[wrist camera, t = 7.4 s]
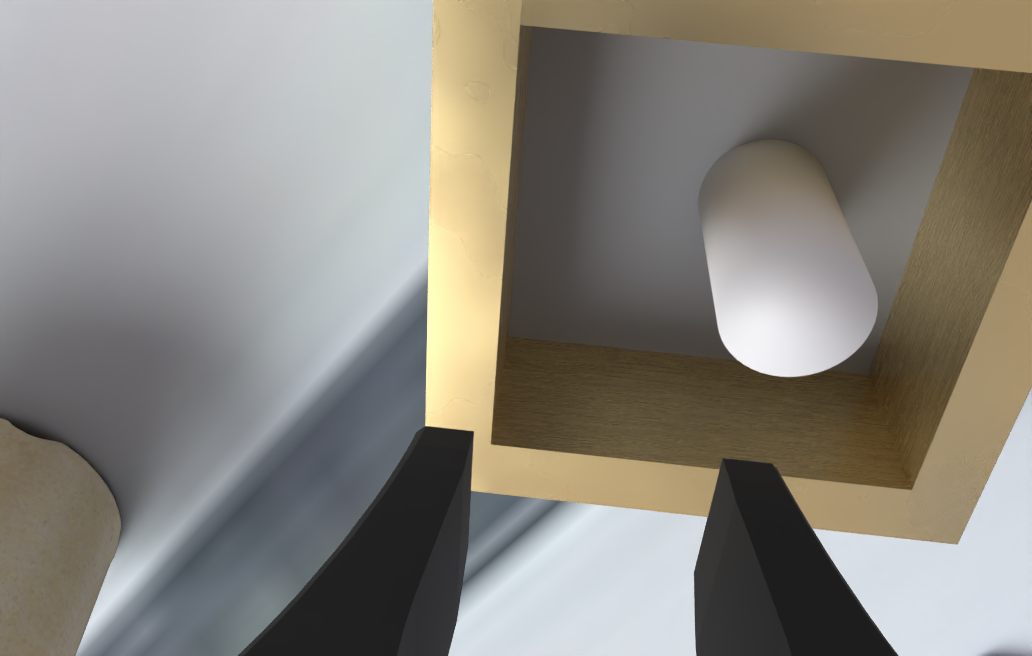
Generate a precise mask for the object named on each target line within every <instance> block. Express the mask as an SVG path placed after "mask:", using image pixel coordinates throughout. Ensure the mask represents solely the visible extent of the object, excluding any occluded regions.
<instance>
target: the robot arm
mask: <svg viewBox="0 0 1032 656" xmlns="http://www.w3.org/2000/svg"><path fill="white" fill-rule="evenodd" d="M473 441H474V431H468V430H459V429H449V428H440V427H431V426H425V427H424V428H422V429H421V430H419V431H418V432H416V434H415V436H414V438H413V440H412V442H411V444H410V446H409V447H408V449H407V451H406V452H405V454H404V456H403V457H402V459H401V461H400V462H399V464H398V465H397V467H396V469H395V470H394V472H393V473H392V475H391V476H390V478H389V479H388V481H387V482H386V484H385V485H384V486H383V488H382V489H381V491H380V492H379V494H378V495H377V497H376V498H375V499H374V501H373V502H372V504H371V505H370V506H369V507H368V509H367V510H366V511H365V513H364V514H363V515H362V517H361V518H360V519H359V521H358V522H357V523H356V525H355V526H354V527H353V529H352V530H351V531H350V533H349V534H348V535H347V537H346V538H345V539H344V540H343V542H342V543H341V544H340V545H339V547H338V548H337V549H336V550H335V552H334V553H333V554H332V555H331V556H330V557H329V559H328V560H327V561H326V562H325V563H324V564H323V566H322V567H321V568H320V569H319V570H318V571H317V573H316V574H315V575H314V576H313V577H312V578H311V580H310V581H309V582H308V583H307V584H306V585H305V587H304V588H303V589H302V590H301V591H300V592H299V593H298V595H297V596H296V597H295V598H294V599H293V600H292V601H291V602H290V603H289V604H288V605H287V607H286V608H285V609H284V610H283V611H282V612H281V613H280V614H279V615H278V616H277V617H276V618H275V619H274V620H273V621H272V622H271V623H270V624H269V625H268V626H267V627H266V629H265V630H264V631H263V632H262V633H261V634H259V635H258V636H257V637H256V638H255V639H254V640H253V641H252V642H251V643H250V644H249V645H248V646H247V647H246V648H245V649H244V650H243V651H242V652H241V653H240V654H239V655H238V656H448V653H449V649H450V645H451V642H452V638H453V634H454V630H455V626H456V622H457V616H458V609H459V603H460V596H461V590H462V583H463V576H464V570H465V563H466V556H467V549H468V535H469V516H470V498H471V479H472V460H473ZM694 597H695V638H696V654H697V656H898V655H897V653H896V652H895V651H894V649H893V648H892V647H891V645H890V644H889V643H888V641H887V640H886V639H885V637H884V636H883V634H882V633H881V632H880V630H879V629H878V627H877V626H876V625H875V623H874V622H873V620H872V619H871V618H870V616H869V615H868V613H867V612H866V611H865V609H864V608H863V606H862V605H861V603H860V602H859V600H858V599H857V597H856V596H855V594H854V593H853V591H852V590H851V588H850V587H849V585H848V584H847V582H846V581H845V579H844V578H843V576H842V575H841V574H840V572H839V571H838V569H837V567H836V566H835V564H834V563H833V561H832V560H831V558H830V557H829V555H828V553H827V552H826V550H825V549H824V547H823V545H822V544H821V542H820V541H819V539H818V537H817V536H816V534H815V532H814V531H813V529H812V528H811V526H810V524H809V523H808V521H807V519H806V518H805V516H804V514H803V513H802V511H801V509H800V507H799V506H798V504H797V502H796V501H795V499H794V497H793V495H792V494H791V492H790V490H789V488H788V487H787V485H786V483H785V481H784V480H783V478H782V476H781V474H780V473H779V471H778V470H777V469H776V467H775V466H774V465H773V464H772V463H763V462H754V461H745V460H736V459H726V458H722V462H721V466H720V470H719V474H718V478H717V482H716V486H715V490H714V494H713V498H712V502H711V506H710V510H709V514H708V518H707V522H706V526H705V530H704V535H703V539H702V543H701V547H700V551H699V555H698V559H697V563H696V567H695V571H694Z"/></svg>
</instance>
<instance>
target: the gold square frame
mask: <svg viewBox="0 0 1032 656" xmlns="http://www.w3.org/2000/svg"><path fill="white" fill-rule="evenodd" d="M532 26H537V27H547V28H558V29H569V30H579V31H590V32H601V33H611V34H622V35H633V36H643V37H654V38H665V39H675V40H686V41H696V42H707V43H718V44H728V45H739V46H750V47H760V48H771V49H782V50H792V51H803V52H813V53H824V54H835V55H845V56H856V57H867V58H877V59H888V60H899V61H909V62H920V63H931V64H941V65H952V66H962V67H973V68H974V71H973V74H972V77H971V79H970V82H969V85H968V88H967V91H966V94H965V97H964V100H963V103H962V105H961V108H960V111H959V114H958V117H957V120H956V123H955V126H954V129H953V131H952V134H951V137H950V140H949V143H948V146H947V149H946V152H945V155H944V157H943V160H942V163H941V166H940V169H939V172H938V175H937V178H936V181H935V183H934V186H933V189H932V192H931V195H930V198H929V201H928V204H927V207H926V209H925V212H924V215H923V218H922V221H921V224H920V227H919V230H918V233H917V236H916V238H915V241H914V244H913V247H912V250H911V253H910V256H909V259H908V262H907V264H906V267H905V270H904V273H903V276H902V279H901V282H900V285H899V288H898V290H897V293H896V296H895V299H894V302H893V305H892V308H891V311H890V314H889V316H888V319H887V322H886V325H885V328H884V331H883V334H882V337H881V340H880V342H879V345H878V348H877V351H876V354H875V357H874V360H873V363H872V366H871V368H870V371H869V374H864V373H855V372H845V371H835V370H824V371H821V372H818V373H815V374H811V375H805V376H798V377H780V376H773V375H768V374H764V373H761V372H758V371H756V370H753V369H751V368H749V367H747V366H746V365H744V364H742V363H741V362H740V361H738V360H731V359H721V358H711V357H702V356H692V355H683V354H673V353H664V352H654V351H645V350H635V349H626V348H616V347H607V346H597V345H587V344H578V343H568V342H559V341H549V340H540V339H530V338H521V337H511V336H508V335H509V322H510V309H511V296H512V283H513V270H514V257H515V244H516V231H517V218H518V205H519V192H520V179H521V166H522V153H523V140H524V127H525V114H526V101H527V88H528V75H529V62H530V49H531V36H532ZM1031 387H1032V0H433V49H432V103H431V157H430V211H429V265H428V318H427V372H426V426H431V427H440V428H449V429H459V430H468V431H474V441H473V460H472V479H471V491H478V492H487V493H496V494H505V495H514V496H523V497H532V498H541V499H550V500H559V501H568V502H577V503H586V504H595V505H605V506H614V507H623V508H632V509H641V510H650V511H659V512H668V513H677V514H686V515H695V516H704V517H708V514H709V510H710V506H711V502H712V498H713V494H714V490H715V486H716V482H717V478H718V474H719V470H720V466H721V462H722V458H726V459H736V460H745V461H754V462H763V463H772V464H773V465H774V466H775V467H776V469H777V470H778V471H779V473H780V474H781V476H782V478H783V480H784V481H785V483H786V485H787V487H788V488H789V490H790V492H791V494H792V495H793V497H794V499H795V501H796V502H797V504H798V506H799V507H800V509H801V511H802V513H803V514H804V516H805V518H806V519H807V521H808V523H809V524H810V526H811V528H813V529H822V530H831V531H840V532H849V533H858V534H867V535H877V536H886V537H895V538H904V539H913V540H922V541H931V542H940V543H949V544H958V542H959V540H960V538H961V536H962V534H963V532H964V530H965V527H966V525H967V523H968V521H969V519H970V517H971V515H972V513H973V510H974V508H975V506H976V504H977V502H978V500H979V498H980V496H981V493H982V491H983V489H984V487H985V485H986V483H987V481H988V479H989V476H990V474H991V472H992V470H993V468H994V466H995V464H996V462H997V459H998V457H999V455H1000V453H1001V451H1002V449H1003V447H1004V445H1005V442H1006V440H1007V438H1008V436H1009V434H1010V432H1011V430H1012V428H1013V426H1014V423H1015V421H1016V419H1017V417H1018V415H1019V413H1020V411H1021V409H1022V406H1023V404H1024V402H1025V400H1026V398H1027V396H1028V394H1029V392H1030V389H1031Z"/></svg>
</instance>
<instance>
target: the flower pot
mask: <svg viewBox="0 0 1032 656" xmlns="http://www.w3.org/2000/svg"><path fill="white" fill-rule="evenodd" d="M120 531H121V519H120V514H119V511H118V507H117V504H116V501H115V499H114V497H113V495H112V493H111V491H110V490H109V488H108V486H107V485H106V484H105V482H104V481H103V479H102V478H101V477H100V476H99V474H98V473H97V472H96V471H95V470H94V469H93V468H92V467H91V466H90V465H89V464H88V462H87V461H85V460H84V459H83V458H82V457H81V456H80V455H78V454H77V453H76V452H75V451H73V450H72V449H71V448H69V447H68V446H66V445H65V444H63V443H60V442H57V441H51V440H45V439H41V438H37V437H34V436H32V435H29V434H27V433H25V432H23V431H22V430H20V429H18V428H16V427H15V426H13V425H12V424H11V423H10V422H9V421H8V420H5V419H2V418H0V656H75V655H76V653H77V650H78V647H79V645H80V642H81V639H82V637H83V634H84V631H85V629H86V626H87V624H88V621H89V618H90V616H91V613H92V610H93V608H94V605H95V603H96V600H97V597H98V595H99V592H100V590H101V587H102V584H103V582H104V579H105V576H106V574H107V571H108V568H109V566H110V563H111V562H112V560H113V558H114V556H115V553H116V550H117V546H118V542H119V537H120Z"/></svg>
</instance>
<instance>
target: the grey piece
mask: <svg viewBox="0 0 1032 656" xmlns="http://www.w3.org/2000/svg"><path fill="white" fill-rule="evenodd" d="M973 71H974V68H973V67H962V66H952V65H941V64H931V63H920V62H909V61H899V60H888V59H877V58H867V57H856V56H845V55H835V54H824V53H813V52H803V51H792V50H782V49H771V48H760V47H750V46H739V45H728V44H718V43H707V42H696V41H686V40H675V39H665V38H654V37H643V36H633V35H622V34H611V33H601V32H590V31H579V30H569V29H558V28H547V27H537V26H532V36H531V49H530V62H529V75H528V88H527V101H526V114H525V127H524V140H523V153H522V166H521V179H520V192H519V205H518V218H517V231H516V244H515V257H514V270H513V283H512V296H511V309H510V322H509V335H508V336H511V337H521V338H530V339H540V340H549V341H559V342H568V343H578V344H587V345H597V346H607V347H616V348H626V349H635V350H645V351H654V352H664V353H673V354H683V355H692V356H702V357H711V358H721V359H731V360H738V361H740V362H741V363H742V364H744V365H746V366H747V367H749V368H751V369H753V370H756V371H758V372H761V373H764V374H768V375H773V376H780V377H798V376H805V375H811V374H815V373H818V372H821V371H824V370H835V371H845V372H855V373H864V374H869V371H870V368H871V366H872V363H873V360H874V357H875V354H876V351H877V348H878V345H879V342H880V340H881V337H882V334H883V331H884V328H885V325H886V322H887V319H888V316H889V314H890V311H891V308H892V305H893V302H894V299H895V296H896V293H897V290H898V288H899V285H900V282H901V279H902V276H903V273H904V270H905V267H906V264H907V262H908V259H909V256H910V253H911V250H912V247H913V244H914V241H915V238H916V236H917V233H918V230H919V227H920V224H921V221H922V218H923V215H924V212H925V209H926V207H927V204H928V201H929V198H930V195H931V192H932V189H933V186H934V183H935V181H936V178H937V175H938V172H939V169H940V166H941V163H942V160H943V157H944V155H945V152H946V149H947V146H948V143H949V140H950V137H951V134H952V131H953V129H954V126H955V123H956V120H957V117H958V114H959V111H960V108H961V105H962V103H963V100H964V97H965V94H966V91H967V88H968V85H969V82H970V79H971V77H972V74H973Z"/></svg>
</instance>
